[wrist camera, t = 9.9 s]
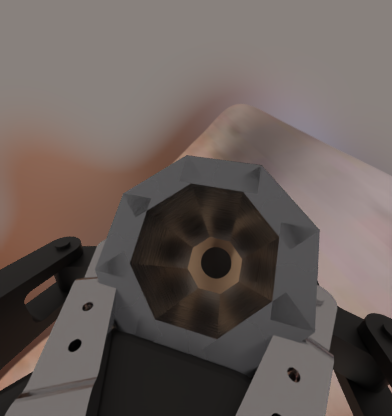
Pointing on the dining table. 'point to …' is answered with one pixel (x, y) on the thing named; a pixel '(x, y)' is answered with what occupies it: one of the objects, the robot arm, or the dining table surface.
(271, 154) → the dining table surface
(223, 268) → the stand
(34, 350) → the dining table surface
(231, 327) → the sleeve
